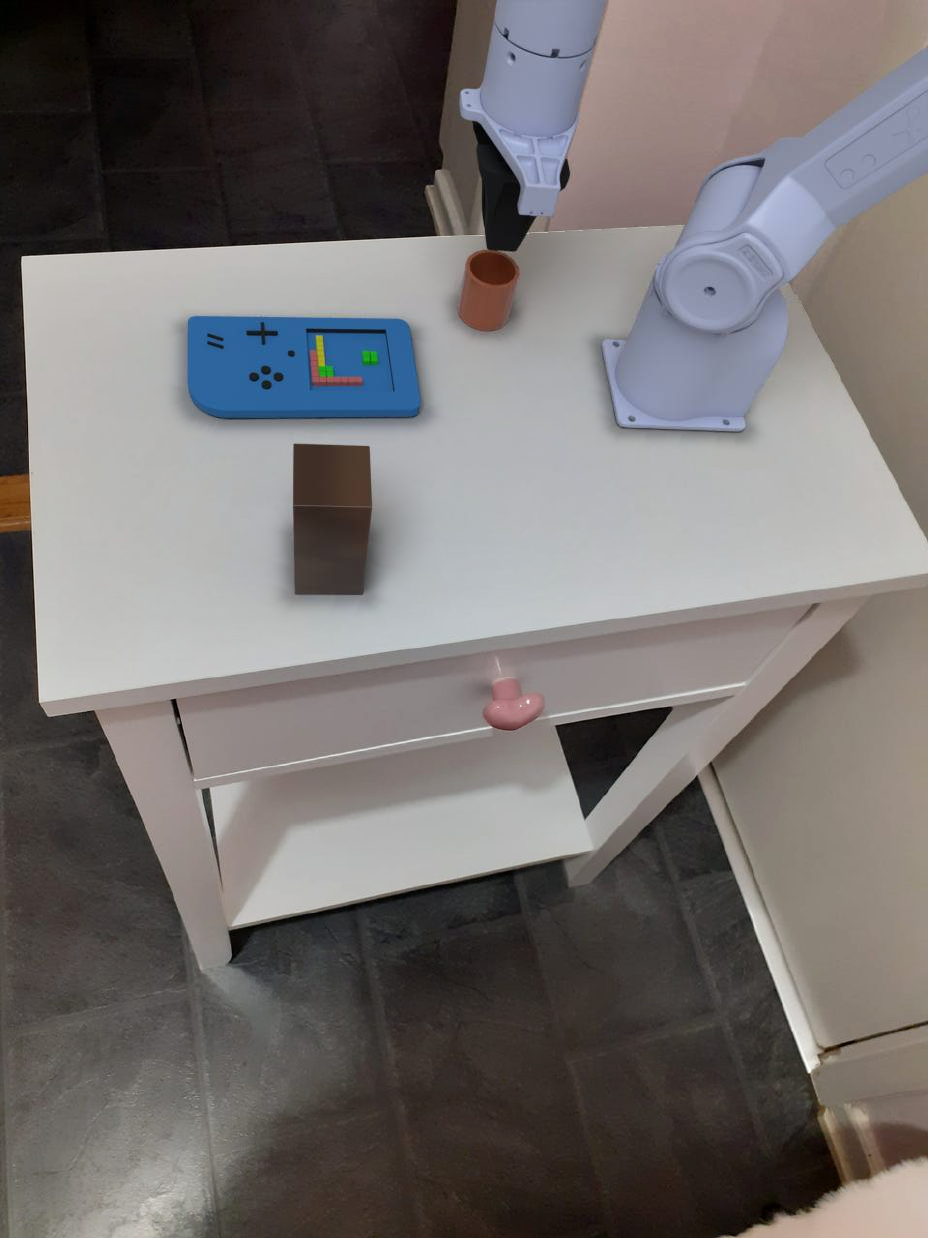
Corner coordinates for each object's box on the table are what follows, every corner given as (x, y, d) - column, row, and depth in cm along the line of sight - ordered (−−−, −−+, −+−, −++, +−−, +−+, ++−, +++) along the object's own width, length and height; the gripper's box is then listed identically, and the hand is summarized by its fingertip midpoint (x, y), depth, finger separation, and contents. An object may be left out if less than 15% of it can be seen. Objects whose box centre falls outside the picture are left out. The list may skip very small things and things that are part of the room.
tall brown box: (361, 538, 57) (369, 445, 49) (362, 595, 55) (372, 507, 47) (294, 537, 56) (293, 442, 48) (294, 594, 54) (292, 505, 46)
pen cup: (505, 295, 69) (516, 251, 66) (511, 332, 67) (522, 289, 64) (455, 292, 68) (463, 247, 65) (459, 329, 67) (468, 286, 63)
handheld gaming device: (187, 311, 62) (409, 314, 65) (188, 324, 63) (407, 326, 66) (186, 407, 58) (422, 405, 61) (188, 418, 59) (420, 417, 62)
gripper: (462, -55, 53) (433, 160, 65) (485, 102, 46) (448, 310, 58) (581, -39, 54) (531, 169, 66) (620, 115, 47) (557, 316, 59)
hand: (499, 235), depth 62 cm, fingers closed
